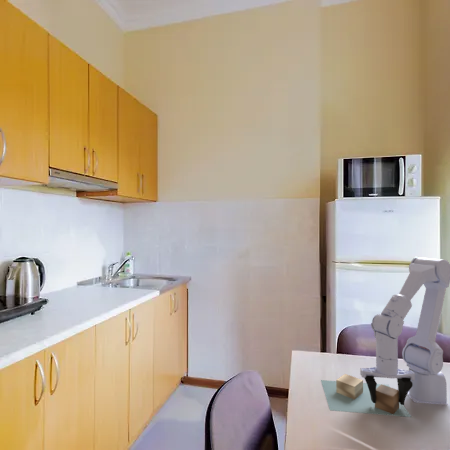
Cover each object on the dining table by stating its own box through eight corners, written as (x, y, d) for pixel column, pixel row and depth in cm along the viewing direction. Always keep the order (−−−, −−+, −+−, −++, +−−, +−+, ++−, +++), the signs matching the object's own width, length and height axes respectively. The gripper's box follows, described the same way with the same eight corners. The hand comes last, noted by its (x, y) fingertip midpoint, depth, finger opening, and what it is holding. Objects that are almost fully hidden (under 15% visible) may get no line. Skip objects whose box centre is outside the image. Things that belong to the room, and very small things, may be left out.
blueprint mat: (388, 385, 104) (388, 384, 104) (411, 418, 87) (411, 416, 87) (320, 381, 108) (320, 380, 108) (330, 411, 90) (330, 410, 90)
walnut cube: (399, 407, 91) (399, 390, 91) (393, 414, 88) (393, 396, 88) (381, 400, 95) (381, 384, 95) (374, 407, 92) (374, 390, 92)
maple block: (363, 392, 100) (362, 380, 100) (354, 399, 96) (354, 386, 96) (345, 385, 104) (344, 373, 104) (336, 392, 100) (336, 379, 100)
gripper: (406, 351, 95) (407, 396, 94) (357, 349, 96) (357, 393, 96) (418, 361, 88) (418, 409, 87) (364, 359, 89) (364, 406, 89)
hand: (387, 402), depth 91 cm, fingers open, 7 cm apart
